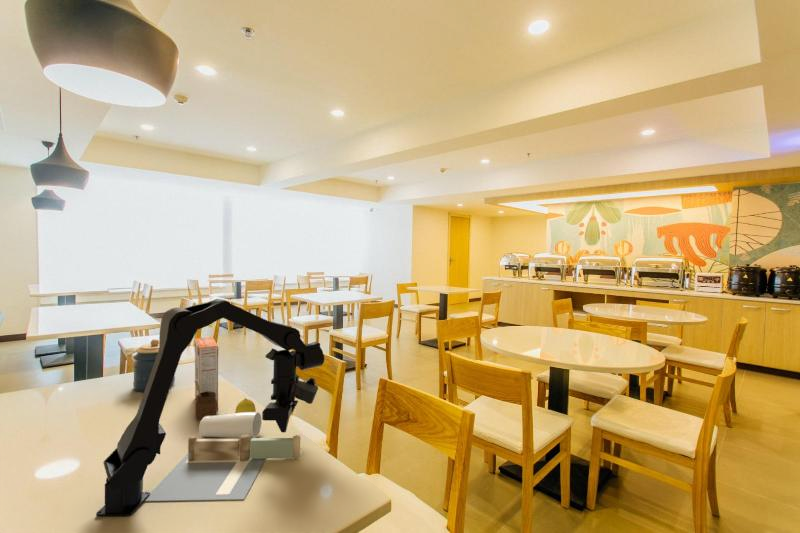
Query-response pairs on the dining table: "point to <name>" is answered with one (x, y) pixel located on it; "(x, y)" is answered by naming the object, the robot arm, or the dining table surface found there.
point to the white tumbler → (231, 425)
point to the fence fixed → (219, 449)
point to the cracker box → (206, 365)
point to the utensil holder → (205, 403)
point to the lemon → (245, 406)
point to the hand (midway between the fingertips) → (283, 431)
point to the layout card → (207, 480)
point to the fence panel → (275, 448)
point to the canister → (145, 364)
